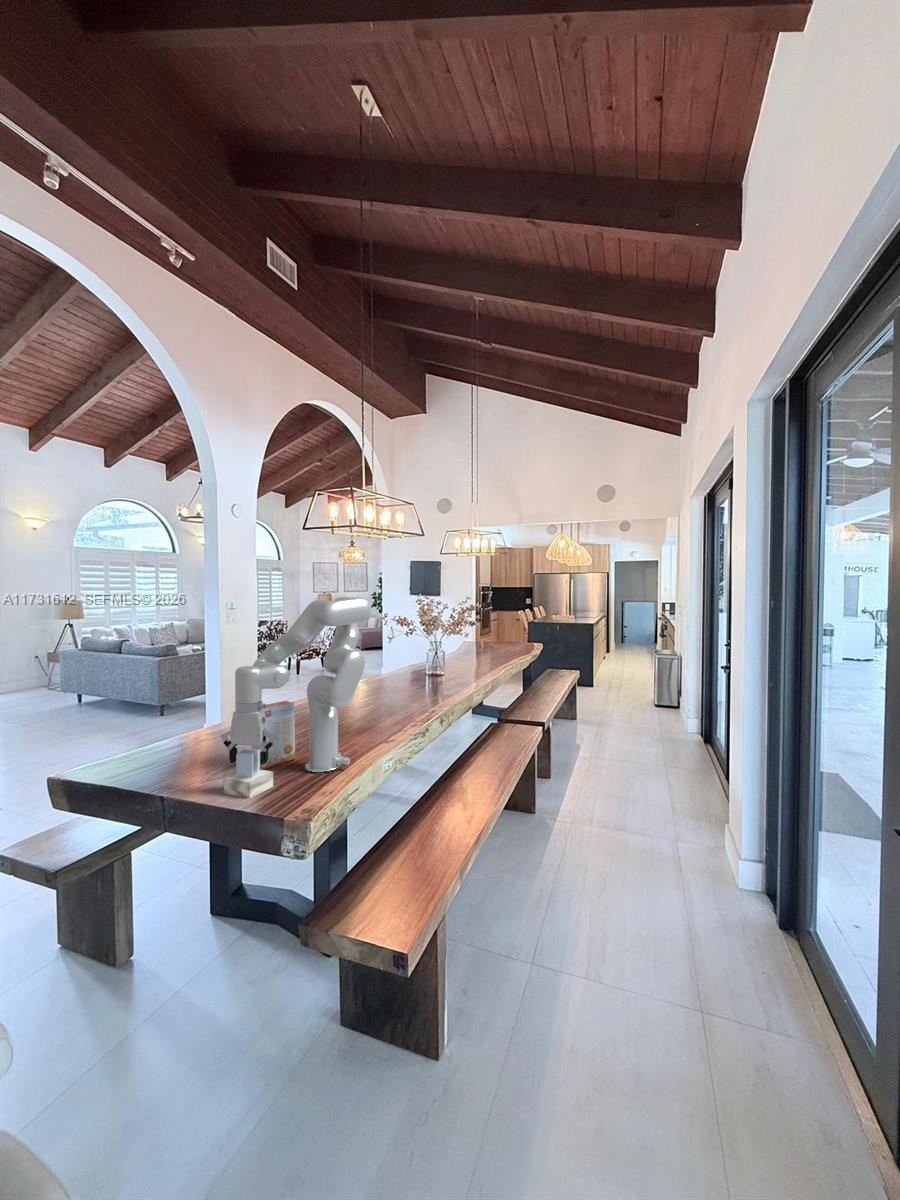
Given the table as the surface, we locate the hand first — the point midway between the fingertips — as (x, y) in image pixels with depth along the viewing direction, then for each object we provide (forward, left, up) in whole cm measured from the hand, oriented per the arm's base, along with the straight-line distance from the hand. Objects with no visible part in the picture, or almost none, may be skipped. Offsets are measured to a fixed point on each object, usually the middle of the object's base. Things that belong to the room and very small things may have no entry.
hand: (248, 762), depth 164 cm
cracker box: (+3, -24, -9) cm, 26 cm away
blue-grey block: (0, 0, -4) cm, 4 cm away
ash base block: (0, 0, -9) cm, 9 cm away
